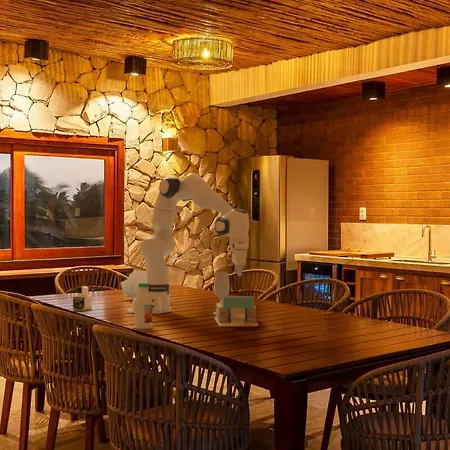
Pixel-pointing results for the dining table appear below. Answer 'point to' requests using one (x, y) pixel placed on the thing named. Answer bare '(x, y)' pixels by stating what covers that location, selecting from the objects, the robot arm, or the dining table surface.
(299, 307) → the dining table surface
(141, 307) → the milk bottle
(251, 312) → the stacked beige blocks
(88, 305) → the medicine bottle
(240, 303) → the green flat slab
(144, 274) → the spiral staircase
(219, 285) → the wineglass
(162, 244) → the robot arm
